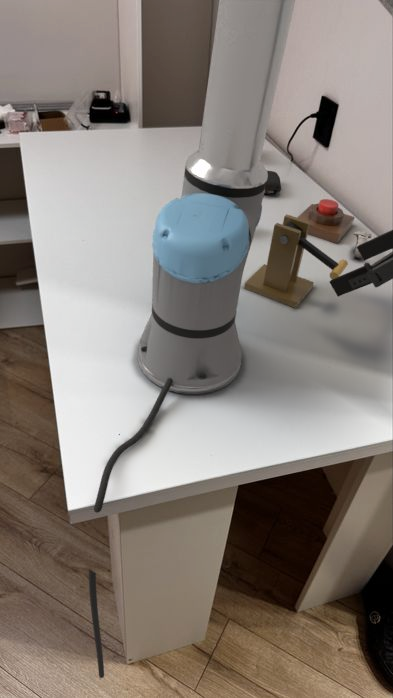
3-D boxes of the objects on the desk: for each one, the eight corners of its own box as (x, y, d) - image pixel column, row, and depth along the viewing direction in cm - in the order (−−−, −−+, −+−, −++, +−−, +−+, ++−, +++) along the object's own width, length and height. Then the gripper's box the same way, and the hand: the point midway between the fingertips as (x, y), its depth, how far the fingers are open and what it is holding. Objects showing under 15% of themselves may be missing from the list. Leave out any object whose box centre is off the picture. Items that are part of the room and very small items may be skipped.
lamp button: (332, 218, 111) (334, 209, 110) (314, 212, 112) (316, 203, 111) (338, 211, 114) (341, 202, 112) (321, 206, 115) (323, 197, 114)
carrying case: (218, 193, 124) (280, 199, 124) (219, 181, 122) (283, 187, 122) (219, 175, 132) (278, 181, 133) (220, 163, 130) (280, 169, 131)
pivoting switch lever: (343, 270, 90) (351, 260, 88) (333, 283, 87) (341, 273, 85) (286, 227, 91) (293, 217, 89) (274, 239, 88) (281, 228, 86)
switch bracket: (312, 287, 97) (329, 223, 88) (295, 308, 91) (312, 242, 83) (263, 269, 100) (275, 206, 92) (244, 288, 95) (255, 222, 86)
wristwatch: (366, 249, 109) (373, 227, 106) (364, 264, 105) (371, 241, 101) (349, 246, 110) (355, 224, 107) (346, 260, 105) (353, 237, 102)
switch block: (336, 243, 110) (341, 226, 108) (292, 228, 114) (296, 211, 111) (351, 226, 117) (356, 209, 114) (309, 212, 120) (313, 196, 118)
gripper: (481, 274, 64) (333, 326, 79) (506, 204, 81) (380, 258, 96) (454, 221, 62) (308, 284, 77) (485, 161, 79) (360, 222, 94)
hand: (348, 269), depth 87 cm, fingers open, 13 cm apart
